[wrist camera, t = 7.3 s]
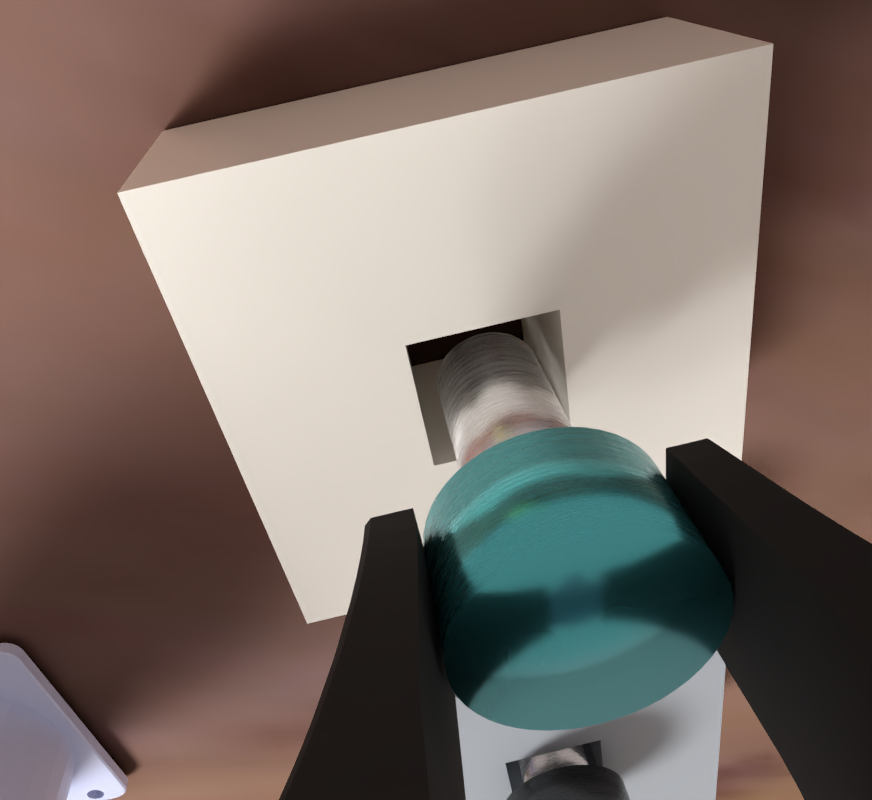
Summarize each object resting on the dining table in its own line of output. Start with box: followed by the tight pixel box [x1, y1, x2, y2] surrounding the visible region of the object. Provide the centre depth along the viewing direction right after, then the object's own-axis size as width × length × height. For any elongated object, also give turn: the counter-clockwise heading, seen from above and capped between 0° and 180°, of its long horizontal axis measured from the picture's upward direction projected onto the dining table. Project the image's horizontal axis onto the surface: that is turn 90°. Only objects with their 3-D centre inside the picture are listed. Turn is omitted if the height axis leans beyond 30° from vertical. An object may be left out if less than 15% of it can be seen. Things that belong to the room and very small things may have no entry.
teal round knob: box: [423, 332, 733, 731], centre depth 11 cm, size 4×4×6 cm
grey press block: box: [346, 614, 726, 800], centre depth 23 cm, size 10×10×4 cm
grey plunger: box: [507, 745, 630, 800], centre depth 22 cm, size 4×4×6 cm
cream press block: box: [117, 17, 773, 624], centre depth 15 cm, size 10×10×4 cm
